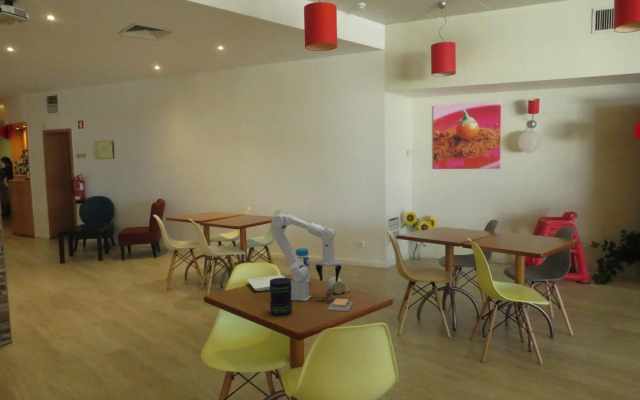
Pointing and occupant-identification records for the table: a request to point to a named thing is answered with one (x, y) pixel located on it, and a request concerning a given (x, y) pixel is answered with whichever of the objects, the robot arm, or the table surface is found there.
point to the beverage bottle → (304, 259)
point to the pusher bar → (329, 295)
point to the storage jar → (280, 296)
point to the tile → (340, 303)
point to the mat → (340, 307)
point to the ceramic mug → (337, 285)
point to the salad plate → (262, 282)
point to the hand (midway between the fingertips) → (329, 280)
